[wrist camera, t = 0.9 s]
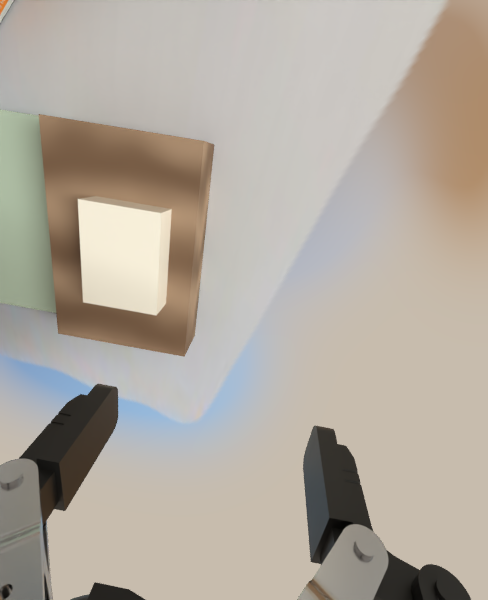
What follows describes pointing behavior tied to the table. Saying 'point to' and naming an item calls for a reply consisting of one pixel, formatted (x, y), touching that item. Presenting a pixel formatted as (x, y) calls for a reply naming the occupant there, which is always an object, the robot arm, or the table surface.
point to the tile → (124, 254)
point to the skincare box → (4, 7)
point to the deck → (132, 188)
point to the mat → (24, 216)
